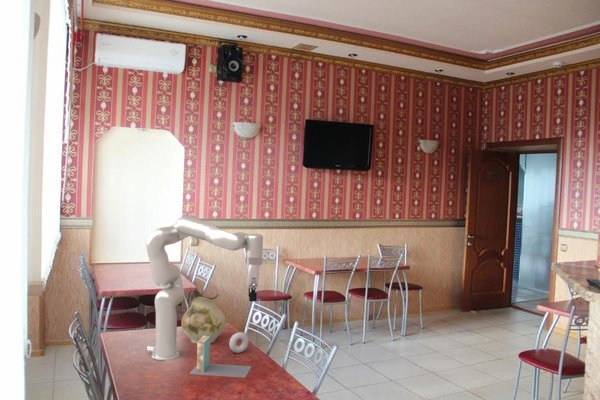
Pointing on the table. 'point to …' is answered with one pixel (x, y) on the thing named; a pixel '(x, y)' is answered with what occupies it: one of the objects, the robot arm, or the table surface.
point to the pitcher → (202, 318)
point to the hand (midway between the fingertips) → (252, 299)
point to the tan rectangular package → (203, 353)
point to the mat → (224, 370)
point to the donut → (235, 338)
